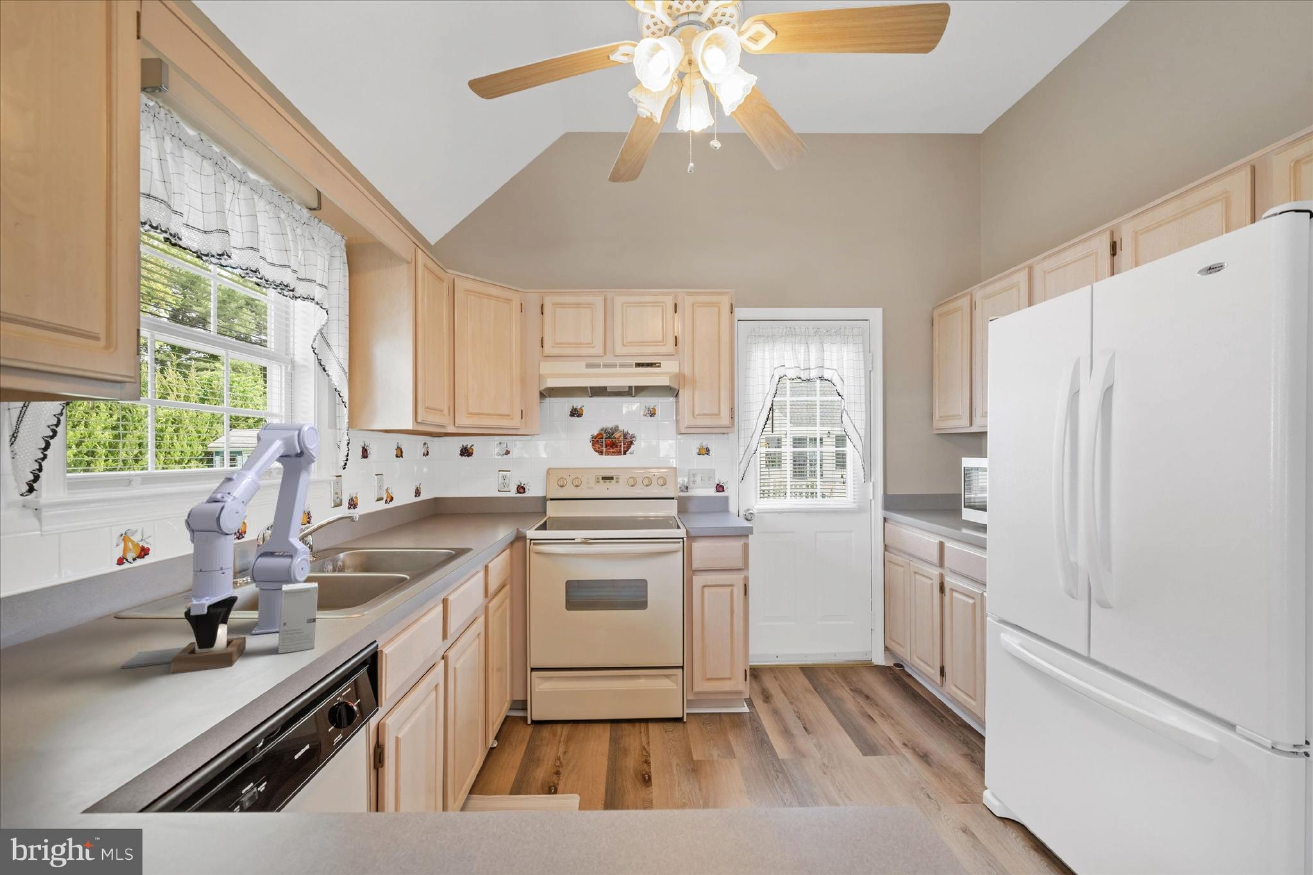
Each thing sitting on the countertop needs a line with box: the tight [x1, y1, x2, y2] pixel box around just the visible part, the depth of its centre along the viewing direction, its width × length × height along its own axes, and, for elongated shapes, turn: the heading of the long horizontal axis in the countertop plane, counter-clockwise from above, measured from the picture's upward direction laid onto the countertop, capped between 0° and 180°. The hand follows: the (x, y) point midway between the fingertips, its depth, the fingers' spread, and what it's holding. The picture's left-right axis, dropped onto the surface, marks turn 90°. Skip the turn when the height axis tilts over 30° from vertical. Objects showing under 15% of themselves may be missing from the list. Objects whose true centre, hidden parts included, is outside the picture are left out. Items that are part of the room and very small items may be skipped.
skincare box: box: [277, 581, 319, 654], centre depth 105 cm, size 6×4×12 cm
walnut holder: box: [171, 636, 247, 675], centre depth 98 cm, size 8×8×2 cm
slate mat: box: [120, 646, 186, 669], centre depth 99 cm, size 7×7×1 cm
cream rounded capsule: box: [194, 624, 228, 654], centre depth 98 cm, size 4×4×6 cm
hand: (211, 643), depth 98 cm, fingers closed on cream rounded capsule, 4 cm apart
